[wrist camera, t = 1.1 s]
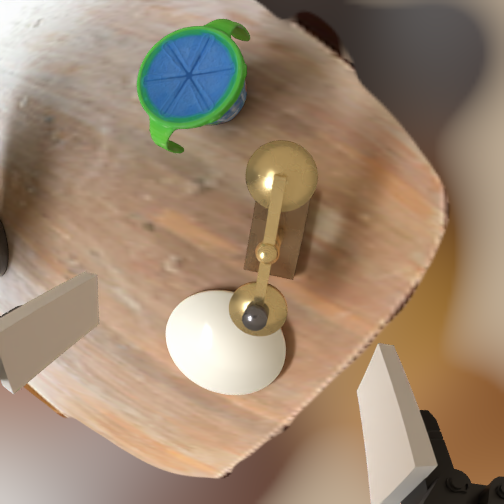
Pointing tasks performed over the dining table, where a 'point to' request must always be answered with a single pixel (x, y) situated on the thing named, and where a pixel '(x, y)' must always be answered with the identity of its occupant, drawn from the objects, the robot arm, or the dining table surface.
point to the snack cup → (193, 79)
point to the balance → (273, 232)
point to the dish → (221, 346)
